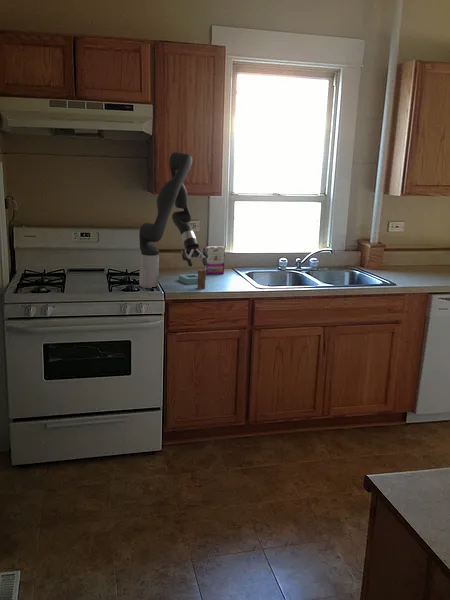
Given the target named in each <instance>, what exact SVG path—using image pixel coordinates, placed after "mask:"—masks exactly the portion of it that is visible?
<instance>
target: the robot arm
mask: <svg viewBox="0 0 450 600" xmlns="http://www.w3.org/2000/svg"><path fill="white" fill-rule="evenodd" d="M168 162H169V171H170V175H171V179H169V180H168V181H167V182H165V183H164V185H162V187H161V188H160V191H159V192H158V195H157V198H156V207H157V216H156V218H155V220H154V223H151V222H144V223H142V225H140V227H139V232H138V233H139V237H138V238H139V249H140V267H139V275H138V276H139V284H138V285H139V286H140V287H141V288H143V289H153V288H152V287H155V286H158V287H159V273H160V272H159V271H160V270H159V269H160V268H159V267H160V262H159V261H160V249H159V248H158V247H156V245H155V244H154V243H158V242H160V241H161V239H162V237H163V236H164V233H165V230H166V226H167V223H168V219H169V216H170V214H171V212H172V209H173V207H174V206H175V207H176V208H177V209H182V210H179V211H178V210H177V211H174V212H173V213H172V215H171V219H172V222H173V225H174V224H175V226H176V227H177V229H178V230H179V231H178V232H180V235H181V236H180V237H181V240H182V244H183V247H184V248H182V249H181V251H180V253H181V257H182V260H183V261H186V262H187V265H188V266H189V267H191V268H192V266H193V262H192V259H191V258H198V259H201V261H202V264H203V267H205V266H206V264H207V261H206V259H207V258H208V254H207V252H206V249H205V247H204V248H202V249H201V248H200V245H199V242H198V239H197V237H196V234H195V232H194V230H193V227H192V225H191V224H190V222H191V221H192V214H191V212H190V208H189V204H188V203H189V202H188V191H187V188H186V186H185V184H184V182H185V179H186V177H187V176H188V173H189V172H190V170H191V168H192V164H193V157H192V155H191V154H189V153H184V152H177V151H174V152H172V153H171V155H170V156H169V161H168ZM187 255H188V256H187Z"/></svg>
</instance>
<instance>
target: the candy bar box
mask: <svg viewBox="0 0 450 600" xmlns="http://www.w3.org/2000/svg"><path fill="white" fill-rule="evenodd" d="M204 248H205V249H206V252H207V254H208V258H207V259H206V261H207V264H206V266H204V270H206V275H224V274H225V259H226V258H225V256H226V254H225V253H226V252H225V251H226V247H225V246H223V245H222V246H220V245H219V246H218V245H214V246H209V245H207V246H205V247H204Z"/></svg>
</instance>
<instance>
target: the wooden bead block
mask: <svg viewBox="0 0 450 600" xmlns="http://www.w3.org/2000/svg"><path fill="white" fill-rule="evenodd" d="M178 281H179V282H181V283H184V284H186V285H195V284H196V285H197V284H198V273H189V274H186V273H185V274H178Z"/></svg>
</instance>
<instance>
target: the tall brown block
mask: <svg viewBox="0 0 450 600" xmlns="http://www.w3.org/2000/svg"><path fill="white" fill-rule="evenodd" d="M197 274H198V284H196V287H197V289H199V290H203V289H206V275H207V274H206V270H205V268H198V269H197Z"/></svg>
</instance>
